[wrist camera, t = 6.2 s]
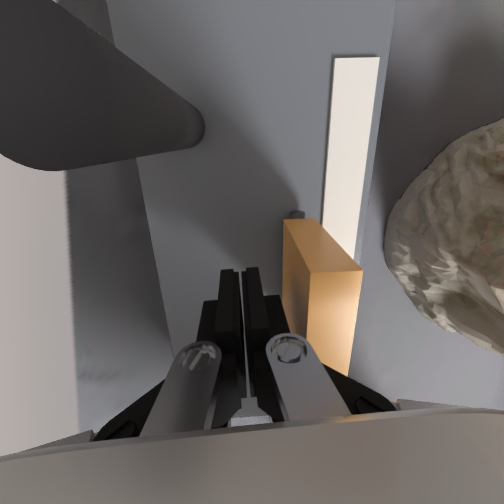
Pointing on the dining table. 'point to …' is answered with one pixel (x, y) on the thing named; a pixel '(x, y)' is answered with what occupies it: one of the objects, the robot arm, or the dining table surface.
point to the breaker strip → (256, 135)
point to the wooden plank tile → (320, 290)
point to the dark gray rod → (80, 95)
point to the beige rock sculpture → (455, 238)
